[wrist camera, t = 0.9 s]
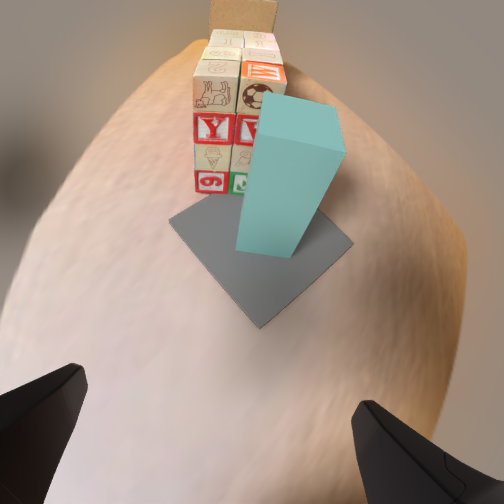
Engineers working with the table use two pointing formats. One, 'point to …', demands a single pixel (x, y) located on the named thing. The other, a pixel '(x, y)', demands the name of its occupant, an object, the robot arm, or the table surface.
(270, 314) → the charcoal mat
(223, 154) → the stack of blocks
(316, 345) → the table surface
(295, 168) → the teal block
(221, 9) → the sandwich container
